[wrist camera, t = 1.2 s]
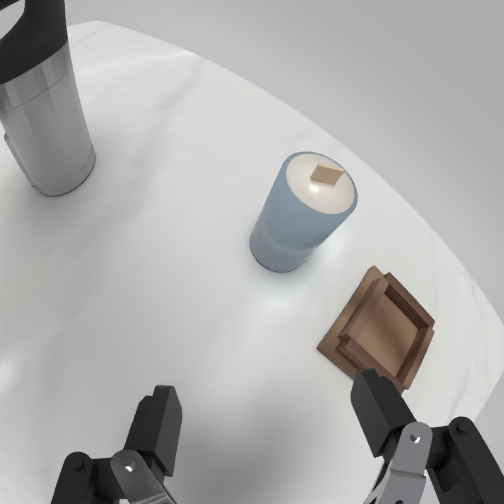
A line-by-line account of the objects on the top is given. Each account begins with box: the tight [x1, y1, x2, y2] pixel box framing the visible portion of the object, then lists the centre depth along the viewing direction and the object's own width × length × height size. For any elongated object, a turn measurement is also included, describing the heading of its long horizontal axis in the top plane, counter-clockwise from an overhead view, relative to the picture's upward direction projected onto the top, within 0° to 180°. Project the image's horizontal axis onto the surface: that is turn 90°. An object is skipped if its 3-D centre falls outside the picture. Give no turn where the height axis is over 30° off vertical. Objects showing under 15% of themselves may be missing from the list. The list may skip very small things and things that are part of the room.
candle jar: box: [250, 152, 358, 272], centre depth 24 cm, size 6×6×13 cm
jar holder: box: [317, 266, 435, 395], centre depth 26 cm, size 12×12×3 cm
